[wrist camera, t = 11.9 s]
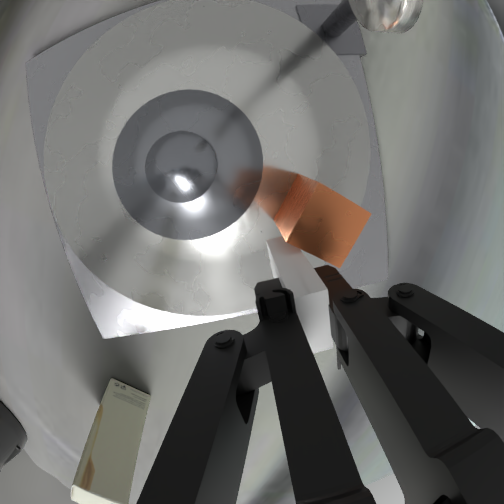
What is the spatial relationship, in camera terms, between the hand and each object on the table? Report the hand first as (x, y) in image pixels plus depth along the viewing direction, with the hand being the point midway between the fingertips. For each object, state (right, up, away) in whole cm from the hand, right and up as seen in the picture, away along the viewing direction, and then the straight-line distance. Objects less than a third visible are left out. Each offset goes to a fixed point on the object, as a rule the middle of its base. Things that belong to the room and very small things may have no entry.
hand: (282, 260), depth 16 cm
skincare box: (-15, -15, +9) cm, 22 cm away
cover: (-5, +5, -1) cm, 7 cm away
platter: (-5, +6, 0) cm, 8 cm away
